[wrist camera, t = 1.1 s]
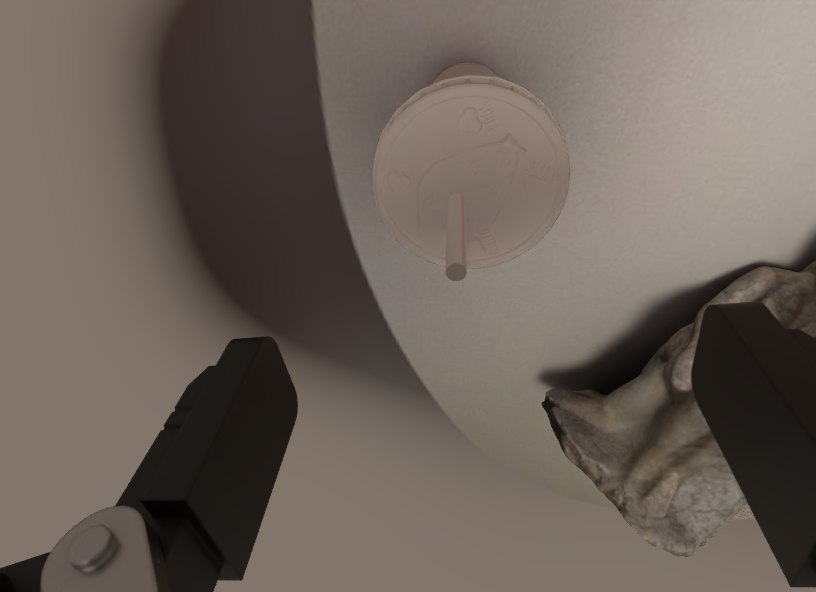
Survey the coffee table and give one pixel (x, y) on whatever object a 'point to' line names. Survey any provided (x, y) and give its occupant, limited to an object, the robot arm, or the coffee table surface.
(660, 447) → the sculpture
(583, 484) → the coffee table surface
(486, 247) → the smoothie
